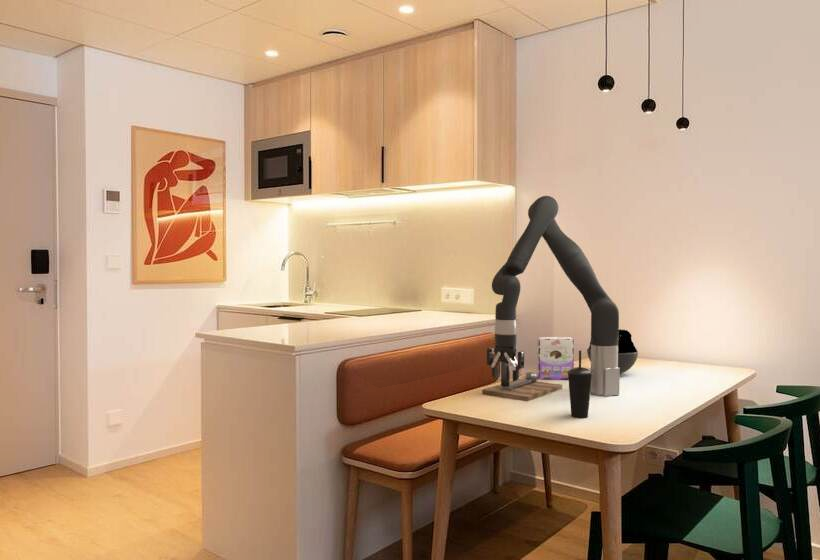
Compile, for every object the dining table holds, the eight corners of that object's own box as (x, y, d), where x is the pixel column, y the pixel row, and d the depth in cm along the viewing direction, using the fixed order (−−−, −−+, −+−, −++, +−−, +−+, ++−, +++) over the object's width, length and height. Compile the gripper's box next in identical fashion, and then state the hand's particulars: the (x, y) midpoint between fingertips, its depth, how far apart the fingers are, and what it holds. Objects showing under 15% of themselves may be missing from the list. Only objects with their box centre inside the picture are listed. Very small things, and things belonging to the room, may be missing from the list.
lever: (529, 379, 242) (529, 353, 241) (538, 380, 239) (538, 354, 239) (498, 389, 224) (498, 360, 224) (508, 390, 222) (508, 361, 221)
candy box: (571, 377, 257) (572, 336, 256) (573, 380, 251) (574, 338, 250) (536, 376, 258) (536, 336, 258) (538, 379, 252) (538, 338, 252)
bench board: (518, 382, 246) (518, 378, 246) (562, 388, 234) (562, 384, 234) (482, 394, 225) (482, 389, 225) (527, 401, 214) (527, 396, 214)
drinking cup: (588, 413, 198) (588, 348, 197) (596, 419, 190) (596, 352, 190) (563, 413, 198) (564, 348, 197) (570, 419, 190) (571, 352, 189)
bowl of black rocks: (642, 379, 252) (642, 332, 251) (589, 378, 255) (590, 331, 255) (632, 370, 272) (633, 326, 271) (584, 369, 275) (584, 325, 274)
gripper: (529, 333, 222) (528, 380, 222) (493, 330, 231) (493, 375, 231) (518, 335, 216) (517, 383, 217) (482, 331, 225) (481, 378, 226)
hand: (505, 379), depth 224 cm, fingers open, 7 cm apart
